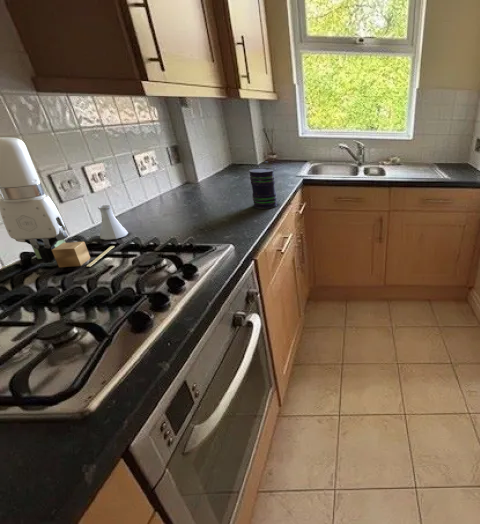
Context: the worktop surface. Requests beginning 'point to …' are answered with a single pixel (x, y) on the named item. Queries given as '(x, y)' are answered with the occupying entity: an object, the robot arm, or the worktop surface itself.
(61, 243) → the sage block
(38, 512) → the worktop surface
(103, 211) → the flask
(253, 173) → the storage jar
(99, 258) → the tape strip
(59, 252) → the beech block
